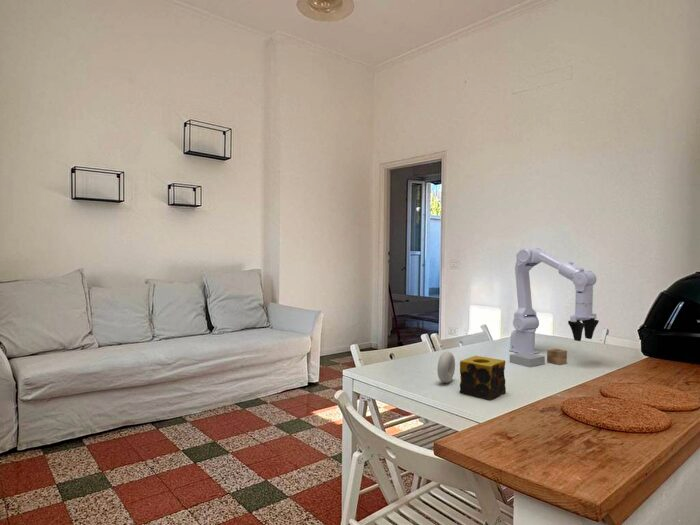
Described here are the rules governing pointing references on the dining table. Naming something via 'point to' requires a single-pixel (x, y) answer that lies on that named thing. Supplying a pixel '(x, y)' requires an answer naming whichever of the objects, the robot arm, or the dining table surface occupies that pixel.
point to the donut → (446, 367)
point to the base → (527, 359)
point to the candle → (482, 377)
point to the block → (557, 356)
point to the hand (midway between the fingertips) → (583, 339)
